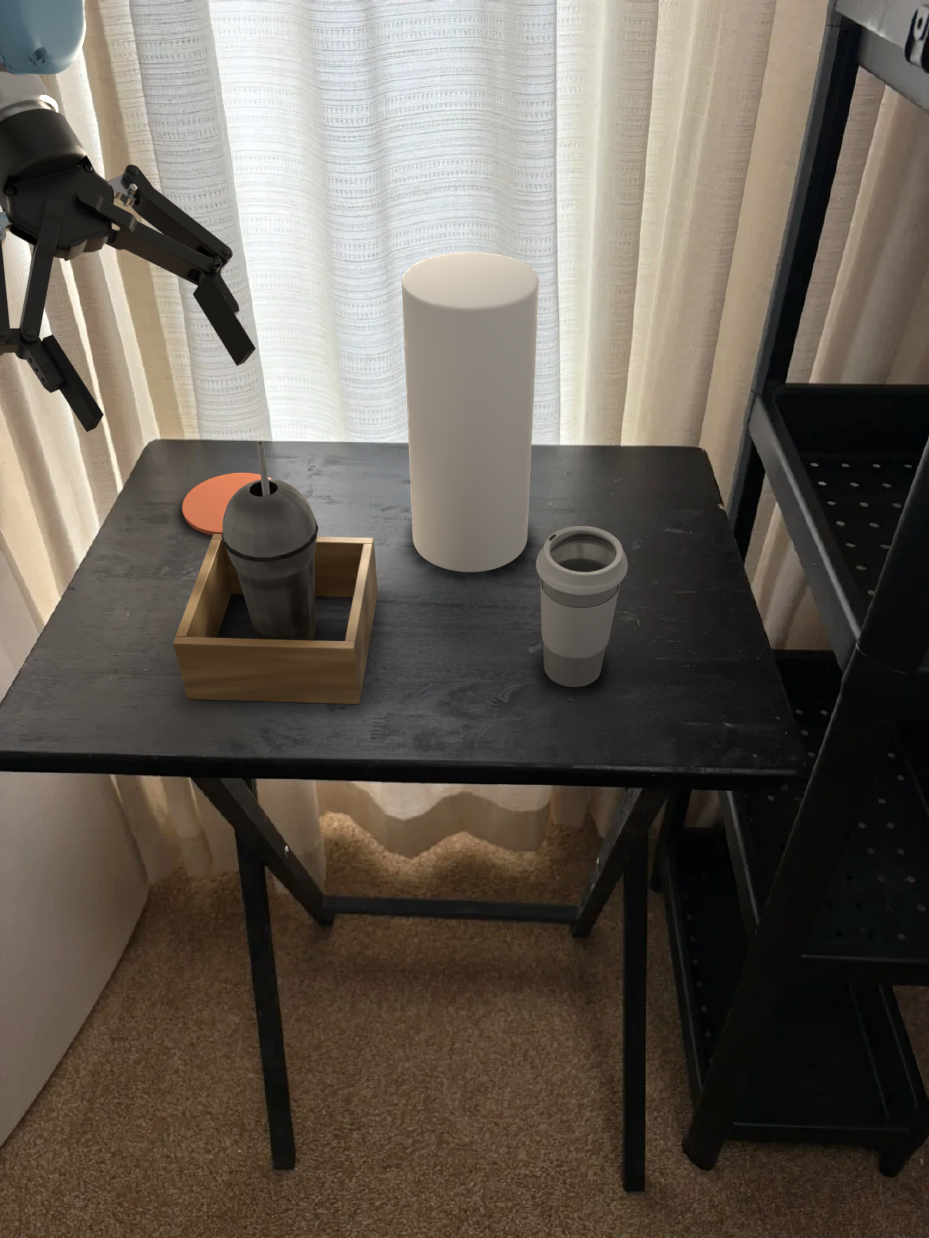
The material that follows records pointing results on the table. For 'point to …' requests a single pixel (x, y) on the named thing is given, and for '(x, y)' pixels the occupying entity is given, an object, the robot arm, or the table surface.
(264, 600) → the beverage cup
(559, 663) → the cup
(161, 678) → the table surface
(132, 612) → the table surface
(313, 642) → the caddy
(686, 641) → the table surface
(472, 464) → the tall pillar cylinder
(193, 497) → the coaster
